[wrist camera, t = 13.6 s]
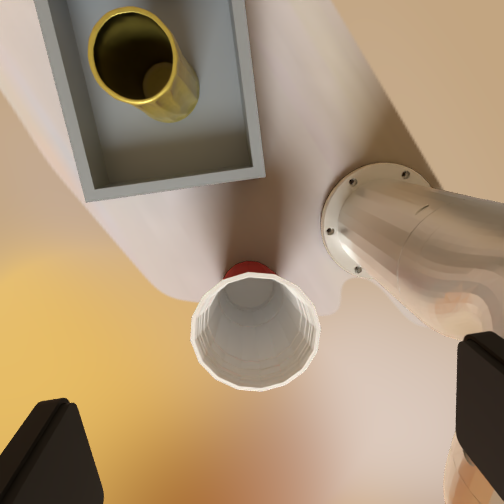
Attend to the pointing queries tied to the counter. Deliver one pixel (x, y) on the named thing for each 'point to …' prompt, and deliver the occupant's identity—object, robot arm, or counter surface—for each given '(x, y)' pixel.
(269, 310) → the plastic cup
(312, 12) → the counter surface
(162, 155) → the box
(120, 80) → the vase
